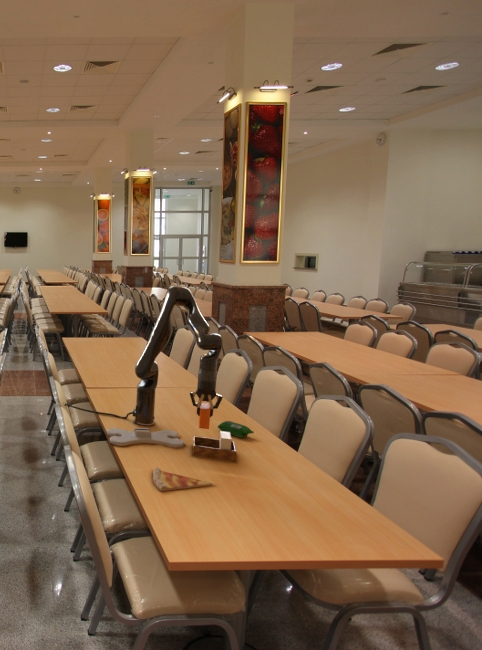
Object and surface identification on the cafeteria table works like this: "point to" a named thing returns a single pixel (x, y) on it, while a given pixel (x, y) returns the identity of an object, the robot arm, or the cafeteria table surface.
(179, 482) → the pizza slice
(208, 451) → the brown wooden tray
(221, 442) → the block
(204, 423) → the block
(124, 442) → the holder
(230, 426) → the snack package
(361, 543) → the cafeteria table surface
